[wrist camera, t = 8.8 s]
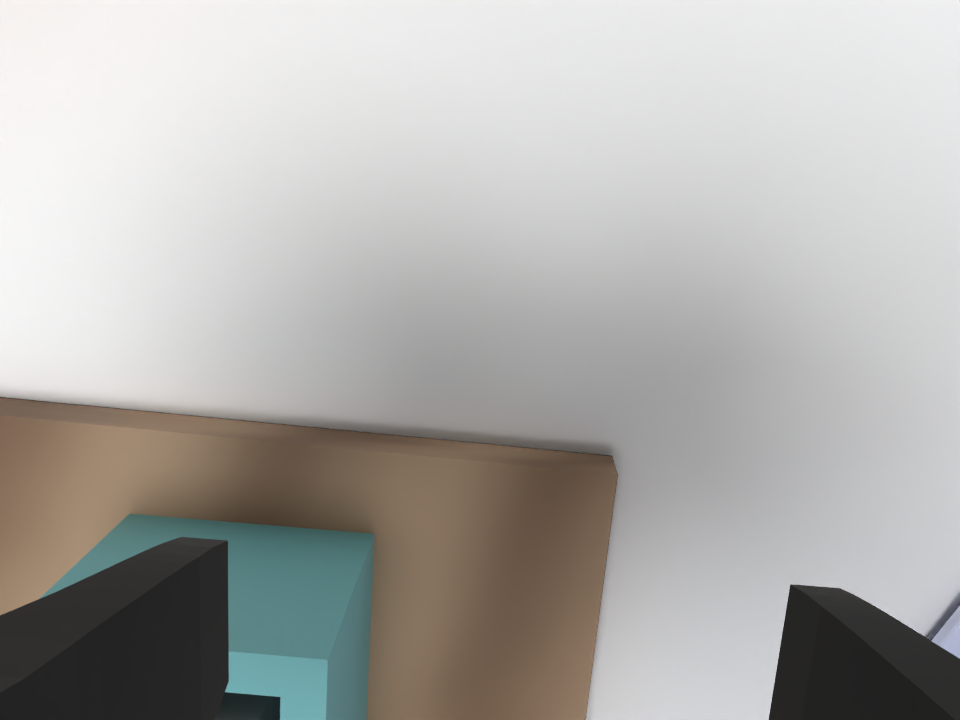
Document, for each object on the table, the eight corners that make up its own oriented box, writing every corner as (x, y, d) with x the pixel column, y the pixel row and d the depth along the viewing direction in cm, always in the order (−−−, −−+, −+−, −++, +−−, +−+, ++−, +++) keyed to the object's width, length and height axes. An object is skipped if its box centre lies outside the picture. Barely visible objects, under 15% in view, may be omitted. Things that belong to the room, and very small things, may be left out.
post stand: (612, 456, 20) (651, 585, 14) (564, 819, 23) (581, 1061, 17) (-66, 390, 21) (-305, 491, 15) (-42, 755, 23) (-240, 970, 17)
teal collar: (374, 533, 20) (327, 660, 15) (364, 748, 21) (319, 928, 16) (129, 513, 20) (3, 632, 15) (135, 728, 21) (22, 899, 16)
